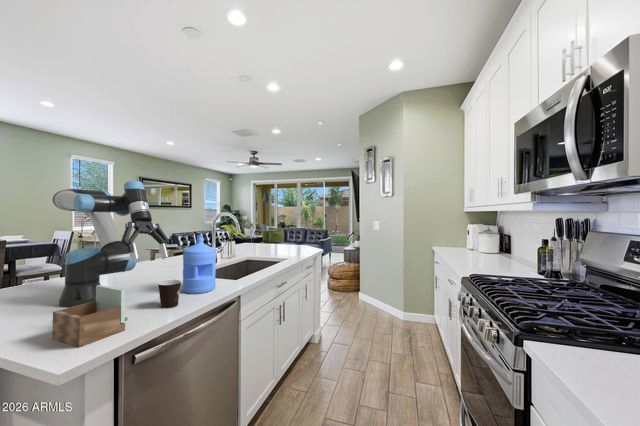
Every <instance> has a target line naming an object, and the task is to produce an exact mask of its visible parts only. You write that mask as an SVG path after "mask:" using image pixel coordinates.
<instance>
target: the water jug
mask: <svg viewBox="0 0 640 426" xmlns="http://www.w3.org/2000/svg"><path fill="white" fill-rule="evenodd" d="M216 258H217V253H216V248H214V247H212V246H210V245H208V244H205V243H204V235H196V243H195V244H194V245H192V246H191V245H190V247H187V248H185V249H184V250H183V252H182V266H183V267H182V291H183V292H184V293H185V294H190V295H194V294H195V295H198V294H205V293H209V292H212V291H214V290H215V289H216V273H217V270H216V260H217V259H216Z"/></svg>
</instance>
